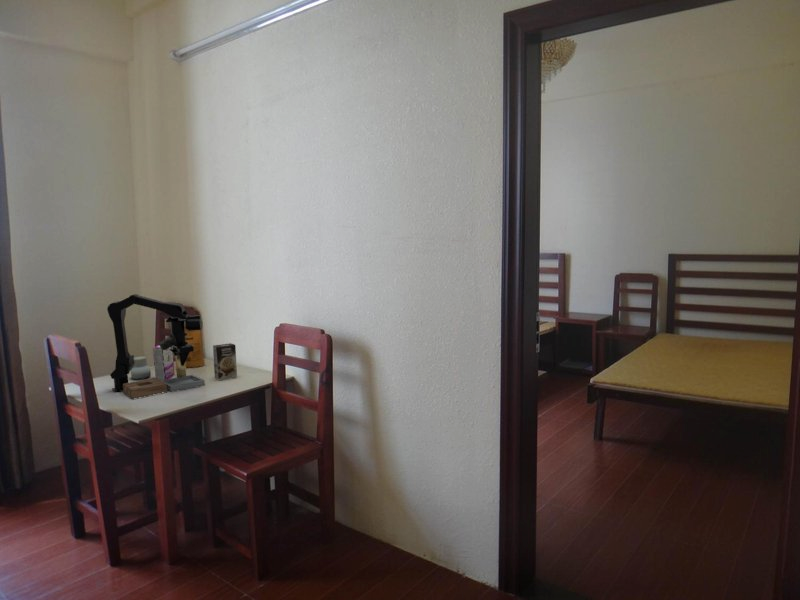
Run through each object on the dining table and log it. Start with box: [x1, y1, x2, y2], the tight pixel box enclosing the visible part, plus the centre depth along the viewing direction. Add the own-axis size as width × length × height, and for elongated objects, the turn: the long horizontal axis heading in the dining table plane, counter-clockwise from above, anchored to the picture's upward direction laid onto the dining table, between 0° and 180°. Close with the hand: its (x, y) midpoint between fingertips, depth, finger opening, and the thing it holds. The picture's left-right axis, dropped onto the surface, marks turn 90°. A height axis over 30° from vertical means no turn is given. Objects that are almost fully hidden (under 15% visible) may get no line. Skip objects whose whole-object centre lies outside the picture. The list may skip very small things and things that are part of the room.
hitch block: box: [122, 377, 168, 400], centre depth 242 cm, size 14×14×4 cm
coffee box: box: [212, 342, 238, 382], centre depth 263 cm, size 9×6×16 cm
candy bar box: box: [152, 344, 175, 380], centre depth 265 cm, size 11×5×16 cm, turn 0°
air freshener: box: [130, 356, 152, 380], centre depth 268 cm, size 11×8×10 cm
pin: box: [174, 355, 187, 378], centre depth 251 cm, size 4×4×10 cm
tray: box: [161, 374, 206, 393], centre depth 252 cm, size 14×15×2 cm
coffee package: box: [185, 327, 205, 369], centre depth 289 cm, size 10×12×22 cm
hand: (180, 364), depth 251 cm, fingers closed on pin, 4 cm apart
